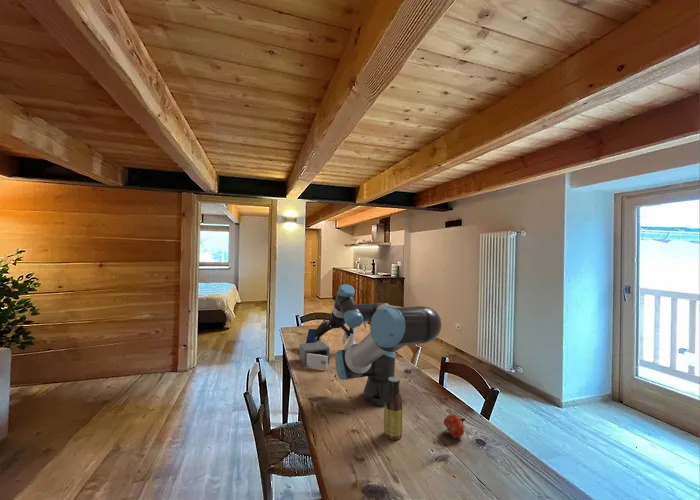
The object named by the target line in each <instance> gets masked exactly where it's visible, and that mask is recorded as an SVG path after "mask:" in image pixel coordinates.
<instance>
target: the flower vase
mask: <svg viewBox="0 0 700 500" xmlns="http://www.w3.org/2000/svg"><path fill="white" fill-rule="evenodd" d="M362 324H363V327H364V329H367V325H368V324H369V321H363V323H362ZM362 324H361V325H360V326H362ZM344 325H345V326H347V324H346V323H345V324H344ZM352 329H353V332H354V333H353V334H350V336H349V337H348V341H347V343H345V344H344V348H343V350H345V349H347V348H348V347H350V346H351V345H353V344H357V343H356V339H355V329H356V328H352Z"/></svg>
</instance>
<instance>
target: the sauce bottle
mask: <svg viewBox="0 0 700 500" xmlns="http://www.w3.org/2000/svg"><path fill="white" fill-rule="evenodd" d="M400 382H401V379H400V378H399V377H397V376H395V377H389V378H388V392H387V395H386V398H385V401H384V406H383V408H384V409H383V410H384V411H383V413H384V415H383V417H384V420H383V427H384V428H383V430H384V436H385V437H386V438H387V439H389V440H391V439H392V441H398V440H400V439H401V438H402V437H403V436H402V434H403V411H404V410H403V406H404V405H403V397H402V395H401V393H400ZM397 439H398V440H397Z"/></svg>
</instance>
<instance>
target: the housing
mask: <svg viewBox="0 0 700 500" xmlns="http://www.w3.org/2000/svg"><path fill="white" fill-rule="evenodd" d="M306 353H309V354H316V355H324V356H328V359H327V365H329V364H330V347H329V346H328V345H327V344H326V343H325V342H324V341H321V342H320V346H319V347H318V346H317V343H306V342H305V343H299V362H300V363H301V364H302V366H303V367H304V368H309V366H306Z"/></svg>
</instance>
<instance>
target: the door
mask: <svg viewBox="0 0 700 500" xmlns="http://www.w3.org/2000/svg"><path fill="white" fill-rule="evenodd" d="M327 359H328V356H324V355H316V354H309V353H306V366H309V367H310V368H314V369H315V368H317V369H323V370H327V369H328V364H327ZM309 367H308V368H309Z"/></svg>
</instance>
